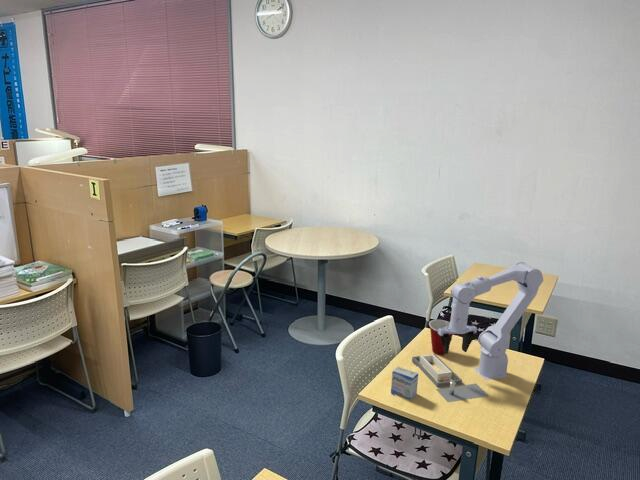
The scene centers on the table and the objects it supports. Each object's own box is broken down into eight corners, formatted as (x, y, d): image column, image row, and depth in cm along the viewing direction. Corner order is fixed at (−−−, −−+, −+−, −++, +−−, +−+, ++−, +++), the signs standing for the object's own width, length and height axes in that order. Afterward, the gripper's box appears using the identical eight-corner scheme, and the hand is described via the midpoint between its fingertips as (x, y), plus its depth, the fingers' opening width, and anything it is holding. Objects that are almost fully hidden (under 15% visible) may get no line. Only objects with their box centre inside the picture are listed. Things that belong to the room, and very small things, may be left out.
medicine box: (390, 393, 162) (391, 370, 160) (396, 387, 166) (397, 365, 164) (411, 401, 158) (413, 378, 156) (416, 395, 161) (418, 372, 159)
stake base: (475, 384, 169) (477, 371, 167) (489, 397, 161) (491, 382, 160) (435, 390, 164) (437, 376, 163) (447, 403, 157) (448, 388, 156)
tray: (434, 358, 187) (434, 354, 186) (461, 385, 168) (462, 380, 168) (411, 361, 184) (412, 356, 184) (436, 388, 166) (437, 383, 165)
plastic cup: (443, 361, 185) (446, 333, 182) (421, 351, 193) (423, 324, 190) (459, 352, 192) (461, 325, 189) (436, 343, 200) (438, 317, 197)
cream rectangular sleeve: (453, 381, 170) (454, 374, 169) (439, 383, 168) (440, 376, 167) (432, 361, 184) (433, 354, 183) (419, 362, 183) (420, 355, 182)
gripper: (470, 311, 173) (466, 345, 176) (435, 313, 169) (431, 348, 172) (482, 318, 166) (477, 353, 170) (445, 321, 163) (441, 357, 166)
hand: (454, 351), depth 171 cm, fingers open, 7 cm apart
